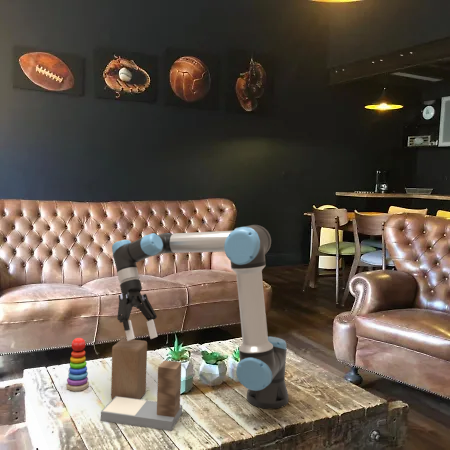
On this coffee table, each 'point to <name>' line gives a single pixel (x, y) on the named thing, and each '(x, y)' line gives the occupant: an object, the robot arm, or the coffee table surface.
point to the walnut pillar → (169, 388)
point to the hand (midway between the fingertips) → (143, 338)
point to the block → (129, 369)
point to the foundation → (137, 413)
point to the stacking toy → (78, 367)
